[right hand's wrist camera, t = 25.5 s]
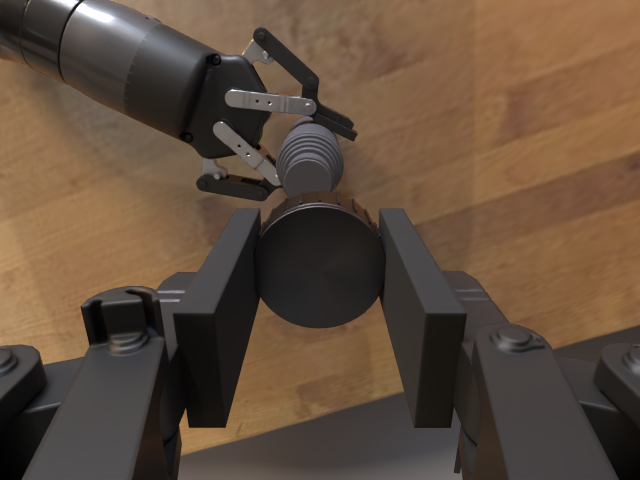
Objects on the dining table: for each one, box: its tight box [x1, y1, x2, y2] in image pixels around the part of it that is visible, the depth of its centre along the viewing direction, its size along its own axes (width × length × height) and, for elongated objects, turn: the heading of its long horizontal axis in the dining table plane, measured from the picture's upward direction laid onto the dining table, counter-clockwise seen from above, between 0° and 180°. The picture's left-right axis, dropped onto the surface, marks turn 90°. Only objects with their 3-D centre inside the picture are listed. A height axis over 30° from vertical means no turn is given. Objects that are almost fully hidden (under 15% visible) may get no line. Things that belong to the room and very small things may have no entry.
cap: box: [253, 190, 386, 328], centre depth 13 cm, size 4×4×2 cm
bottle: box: [276, 116, 343, 198], centre depth 33 cm, size 5×5×18 cm
